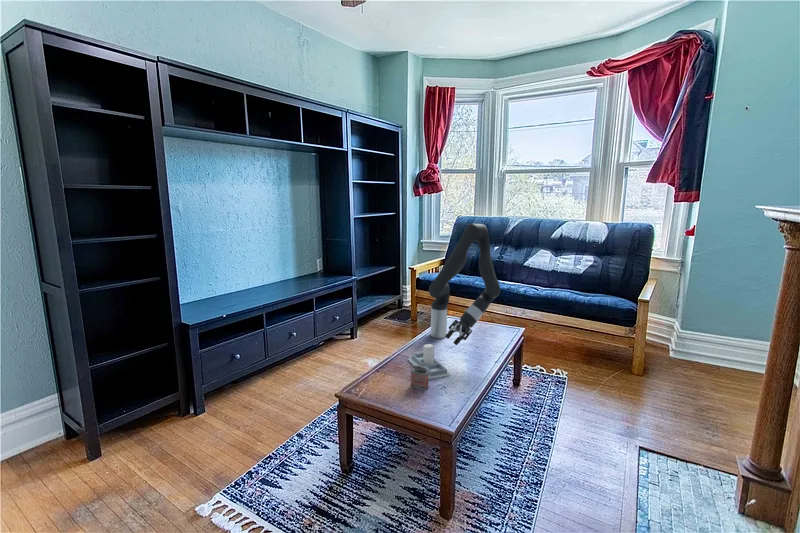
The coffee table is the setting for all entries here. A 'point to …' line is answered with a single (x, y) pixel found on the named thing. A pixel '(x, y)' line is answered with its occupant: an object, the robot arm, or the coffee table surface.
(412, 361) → the rack
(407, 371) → the coffee table surface
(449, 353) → the coffee table surface
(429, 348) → the clay bar
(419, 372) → the lighter
